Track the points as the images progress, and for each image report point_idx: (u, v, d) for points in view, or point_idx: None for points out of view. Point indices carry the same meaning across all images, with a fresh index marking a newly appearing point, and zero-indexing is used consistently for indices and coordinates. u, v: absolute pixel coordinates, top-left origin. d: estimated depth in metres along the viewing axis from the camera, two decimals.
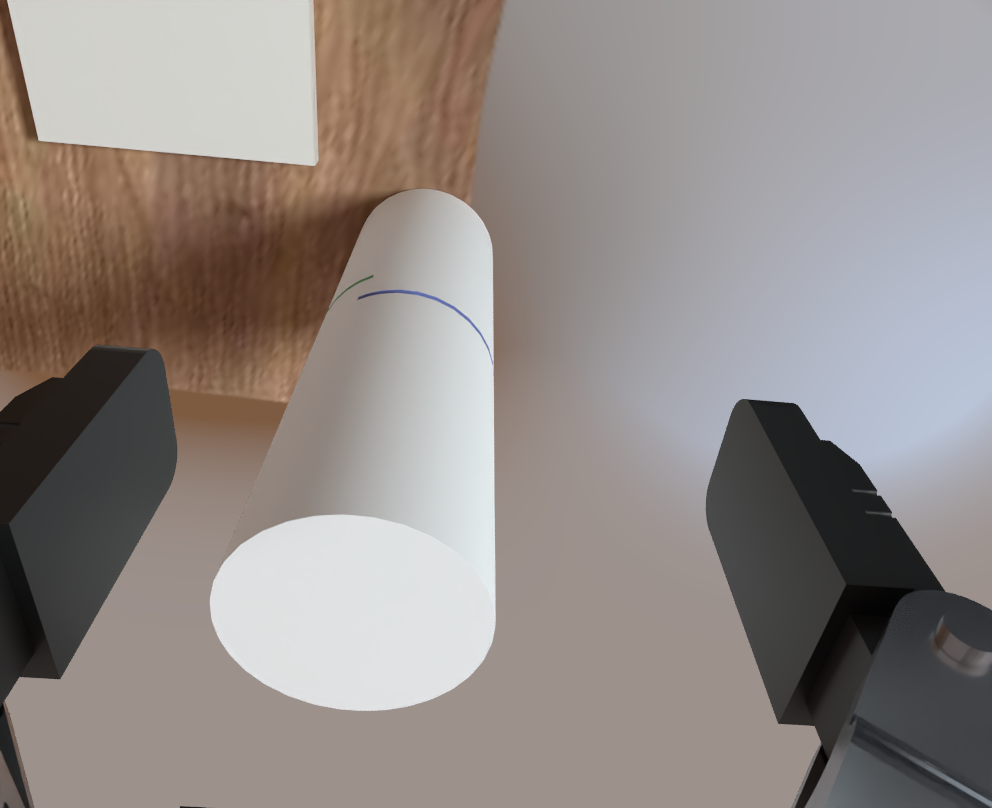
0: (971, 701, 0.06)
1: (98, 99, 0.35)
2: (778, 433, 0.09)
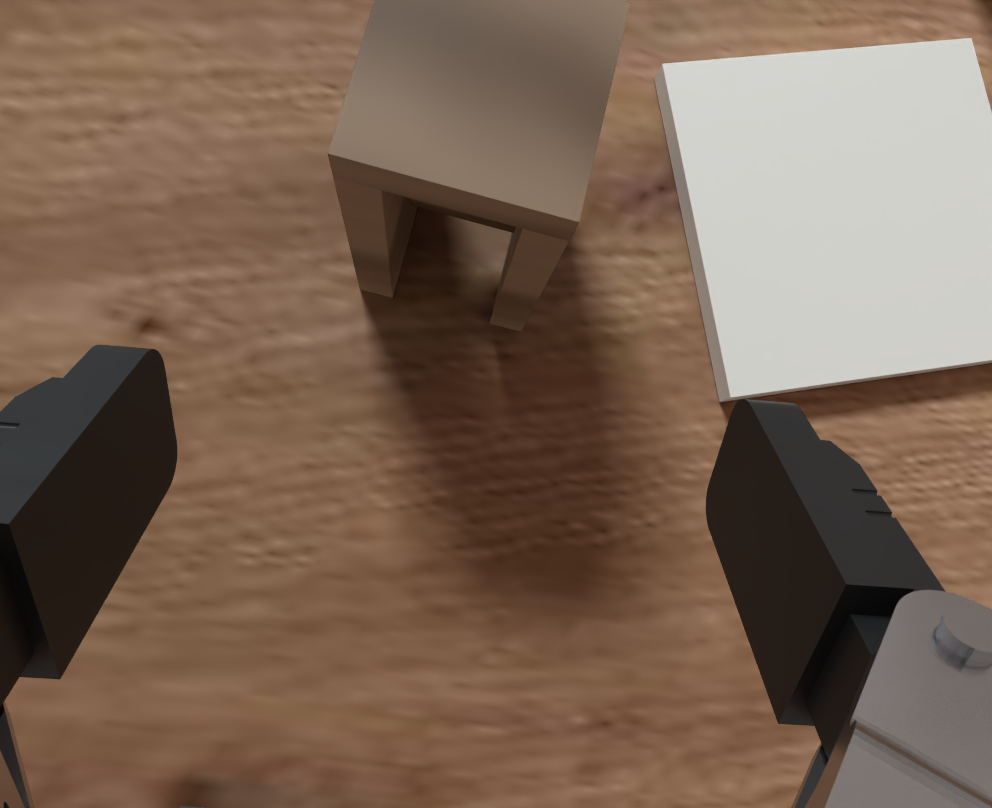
0: (971, 701, 0.06)
1: (984, 276, 0.29)
2: (778, 433, 0.09)
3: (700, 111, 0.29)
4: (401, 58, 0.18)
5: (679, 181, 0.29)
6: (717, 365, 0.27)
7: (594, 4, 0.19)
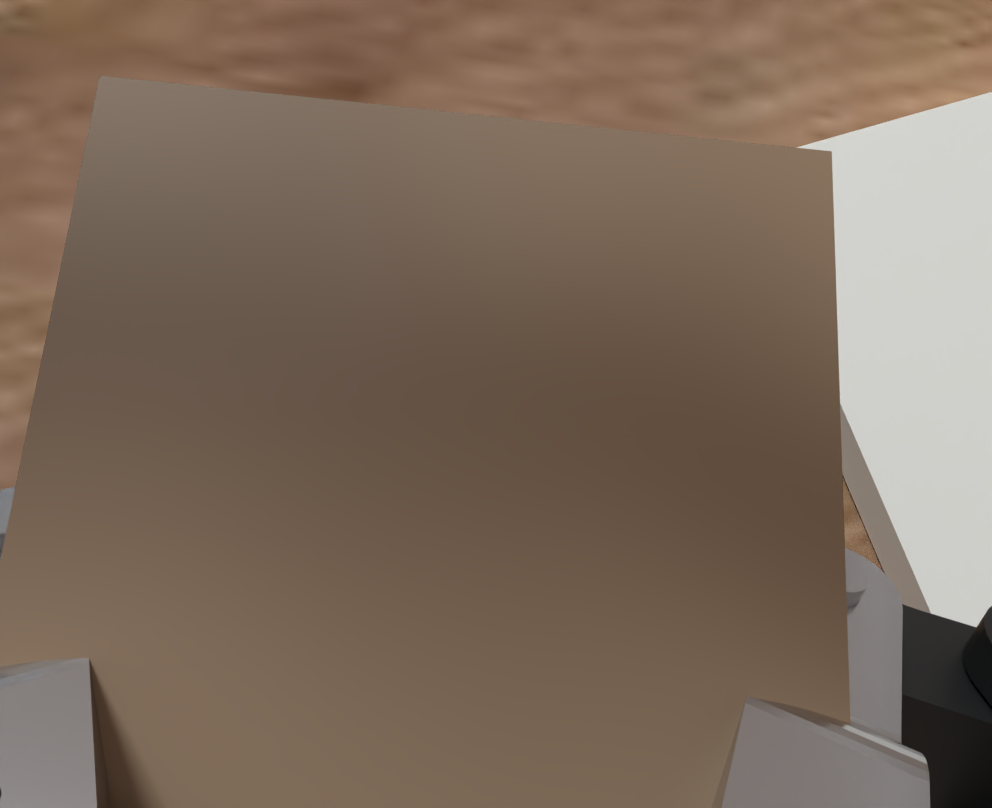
0: None
1: None
2: None
3: None
4: (162, 485, 0.05)
5: None
6: None
7: (731, 180, 0.06)
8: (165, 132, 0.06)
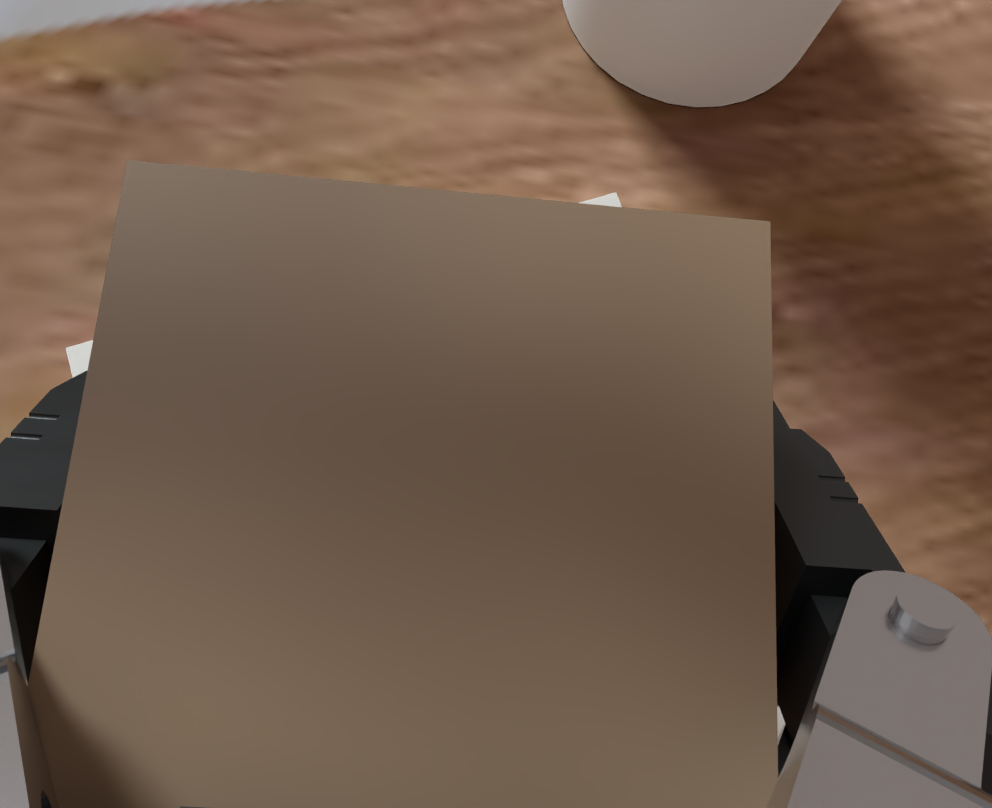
0: (920, 675, 0.06)
1: None
2: None
3: None
4: (184, 520, 0.06)
5: None
6: None
7: (681, 248, 0.07)
8: (185, 210, 0.07)
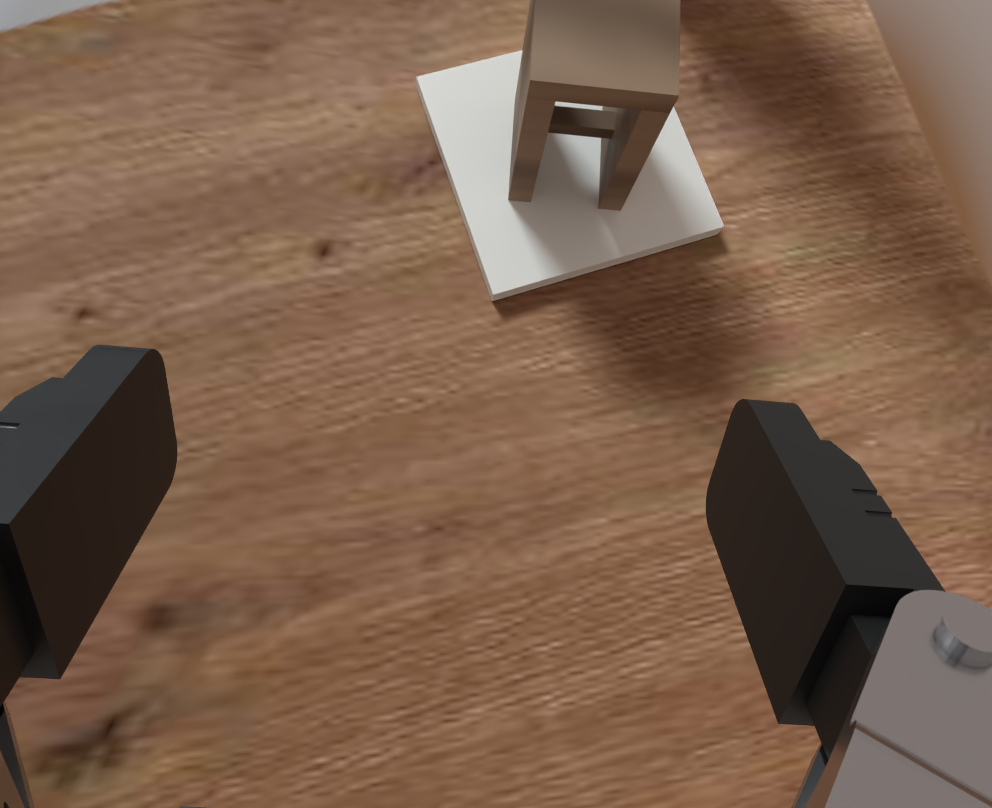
0: (971, 701, 0.06)
1: (665, 184, 0.40)
2: (778, 433, 0.09)
3: (447, 104, 0.41)
4: (558, 21, 0.31)
5: (441, 155, 0.41)
6: (484, 275, 0.39)
7: None
8: None
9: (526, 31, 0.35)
